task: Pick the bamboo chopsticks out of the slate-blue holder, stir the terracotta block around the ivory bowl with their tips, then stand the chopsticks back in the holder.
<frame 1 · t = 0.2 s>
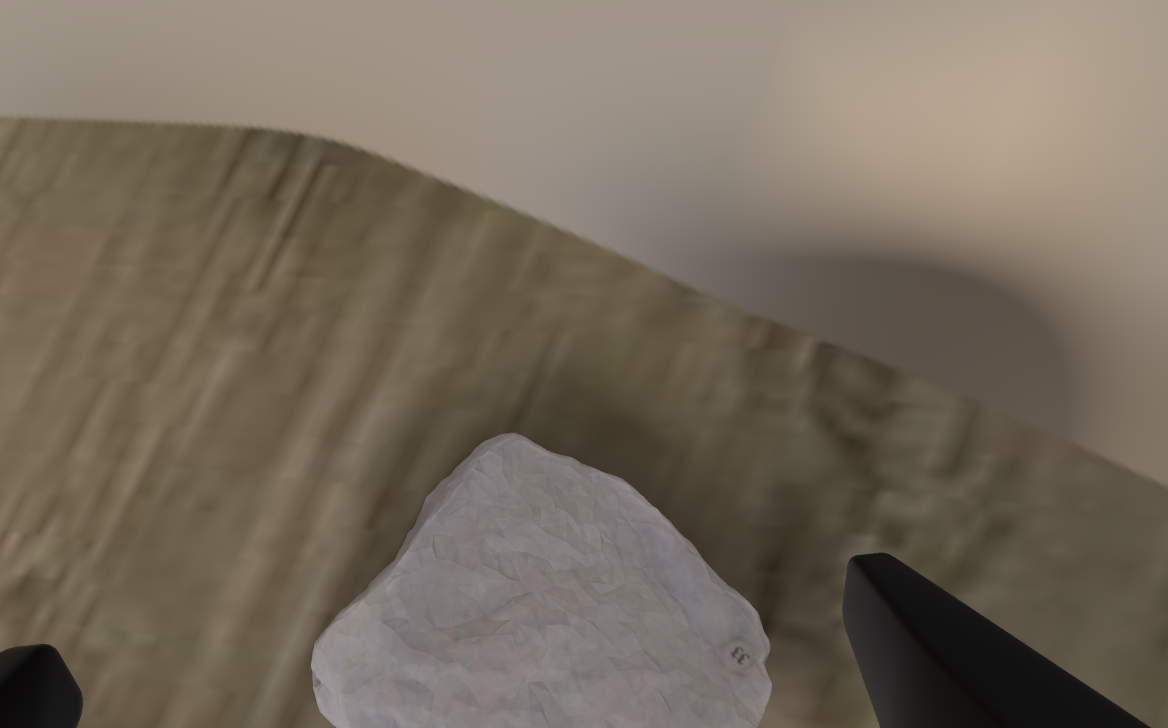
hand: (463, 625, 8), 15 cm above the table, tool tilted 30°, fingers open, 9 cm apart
stone block: (562, 624, 23), on the table
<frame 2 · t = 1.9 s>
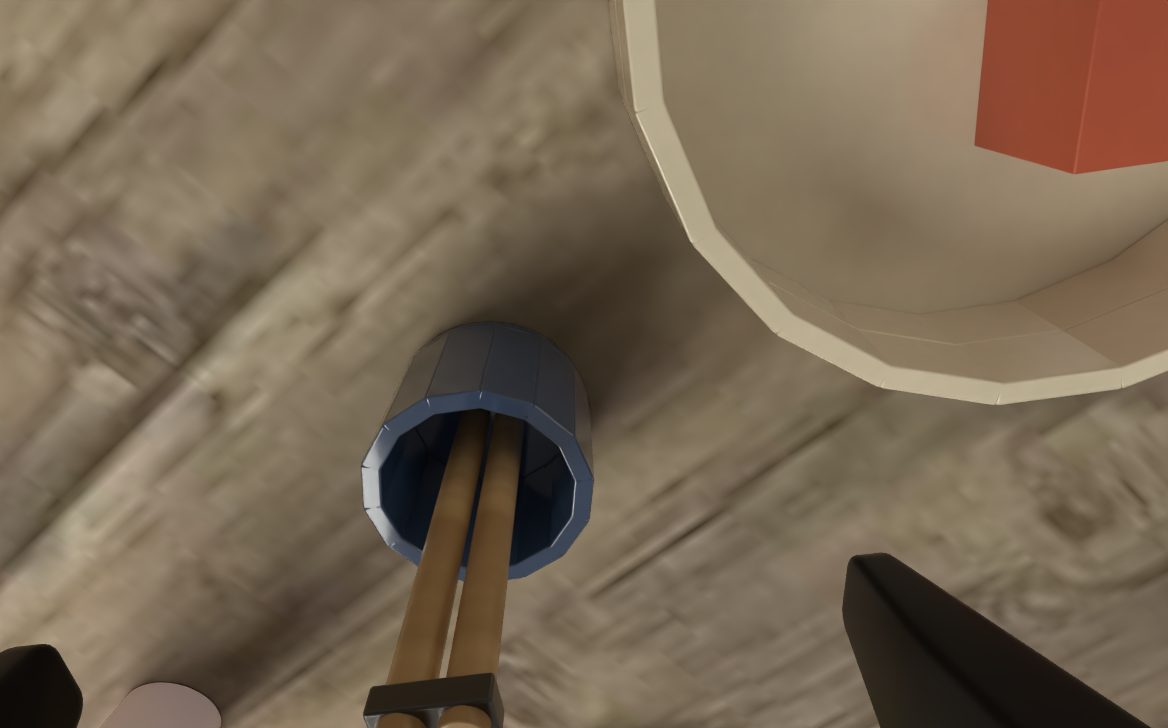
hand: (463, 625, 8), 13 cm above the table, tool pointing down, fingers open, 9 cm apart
block: (1063, 50, 17), point 1 cm above the table, touching bowl
chopsticks: (493, 414, 22), resting on holder
smoothie: (174, 711, 28), on the table
holder: (494, 407, 22), on the table
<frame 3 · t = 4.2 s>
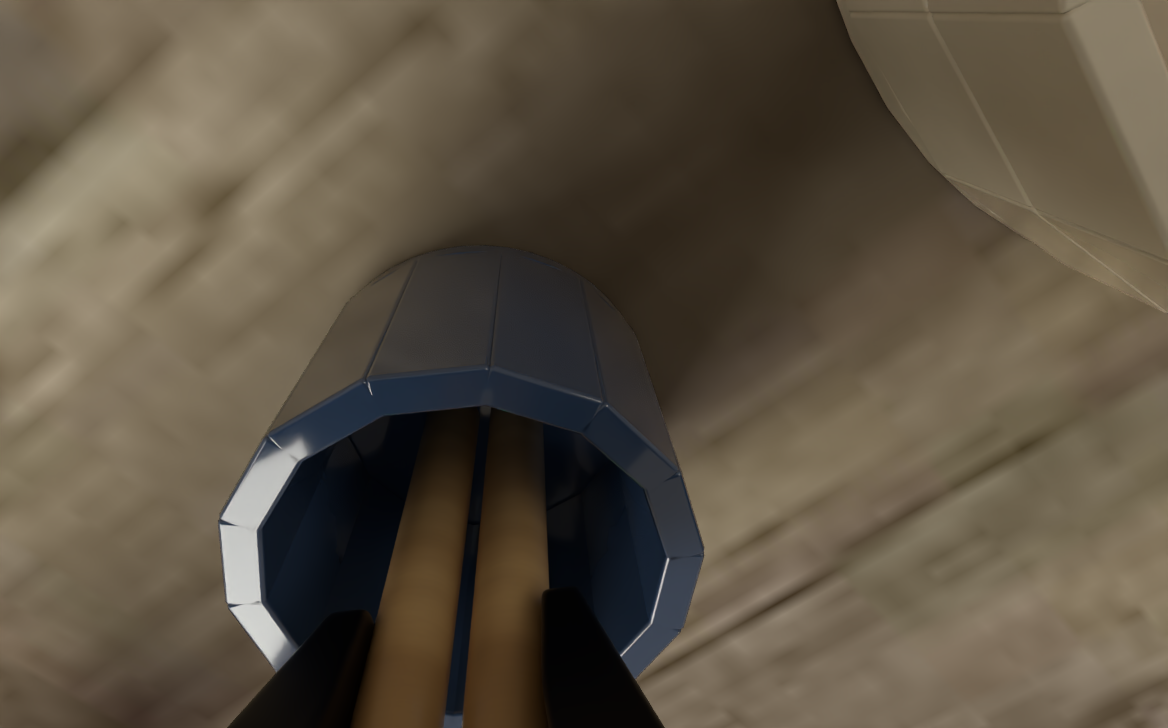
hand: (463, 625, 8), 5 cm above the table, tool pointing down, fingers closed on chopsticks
chopsticks: (485, 411, 12), resting on holder, touching gripper
holder: (486, 400, 13), on the table
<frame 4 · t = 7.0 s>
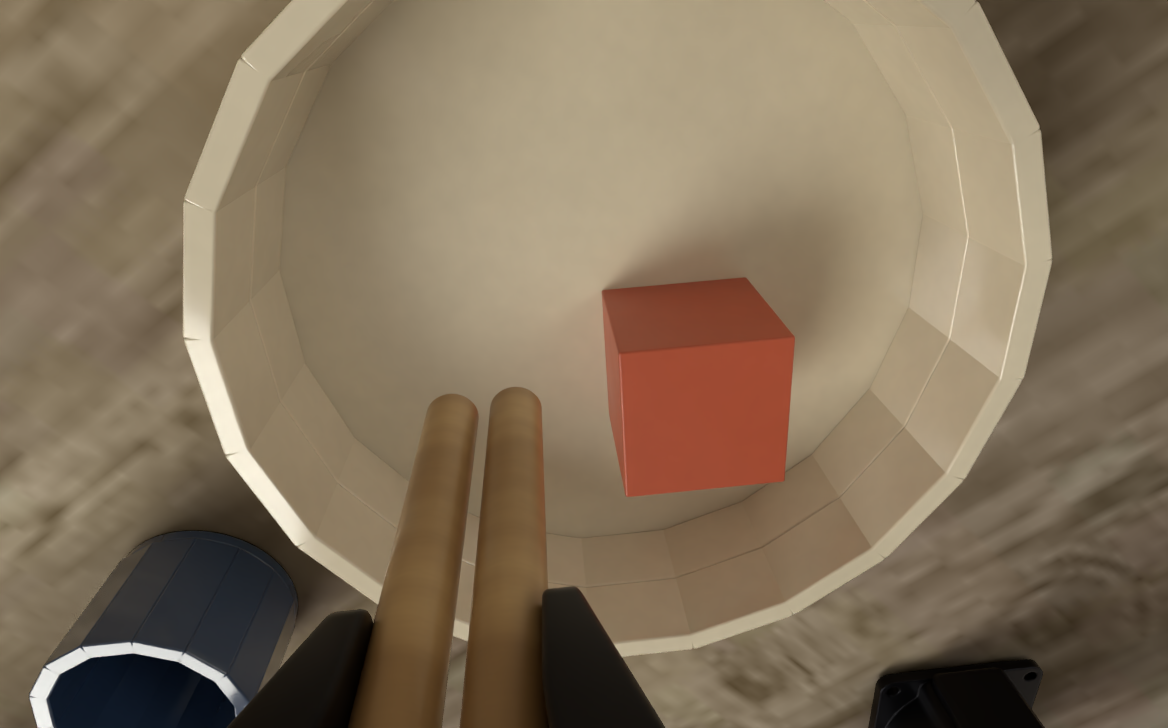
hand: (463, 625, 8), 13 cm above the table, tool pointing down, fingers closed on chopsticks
block: (674, 348, 20), point 1 cm above the table, touching bowl
chopsticks: (484, 411, 12), point 8 cm above the table, touching gripper
bowl: (606, 281, 20), on the table
holder: (209, 597, 24), on the table
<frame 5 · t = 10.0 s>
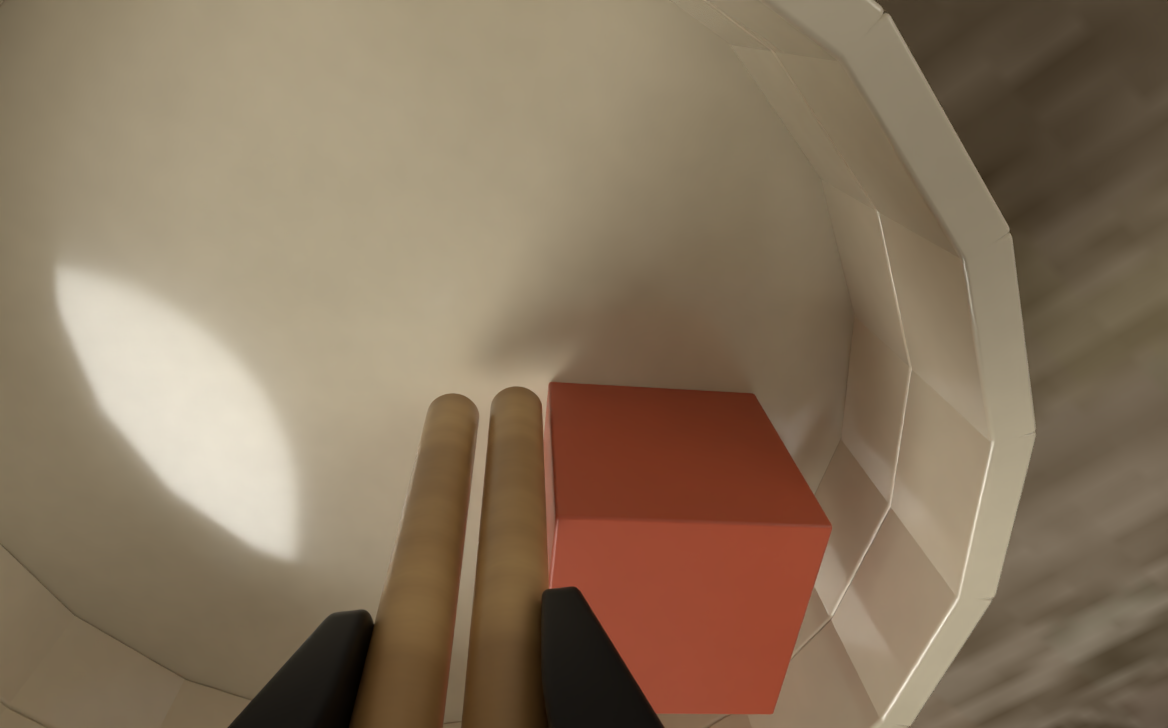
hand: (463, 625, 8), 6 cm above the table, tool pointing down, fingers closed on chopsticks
block: (639, 473, 14), point 1 cm above the table, touching bowl
chopsticks: (485, 410, 12), point 2 cm above the table, touching gripper
bowl: (410, 405, 14), on the table
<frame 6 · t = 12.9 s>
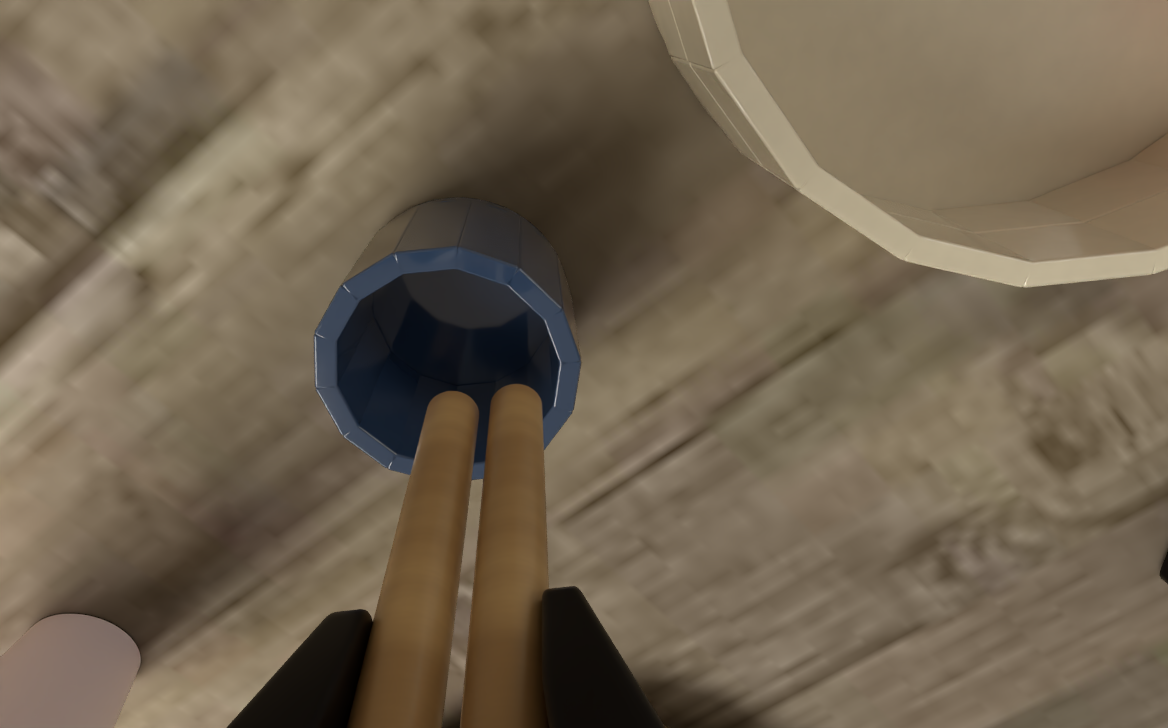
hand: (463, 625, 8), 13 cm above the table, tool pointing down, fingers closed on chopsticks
chopsticks: (484, 408, 12), point 8 cm above the table, touching gripper
smoothie: (86, 648, 25), on the table
holder: (464, 300, 20), on the table
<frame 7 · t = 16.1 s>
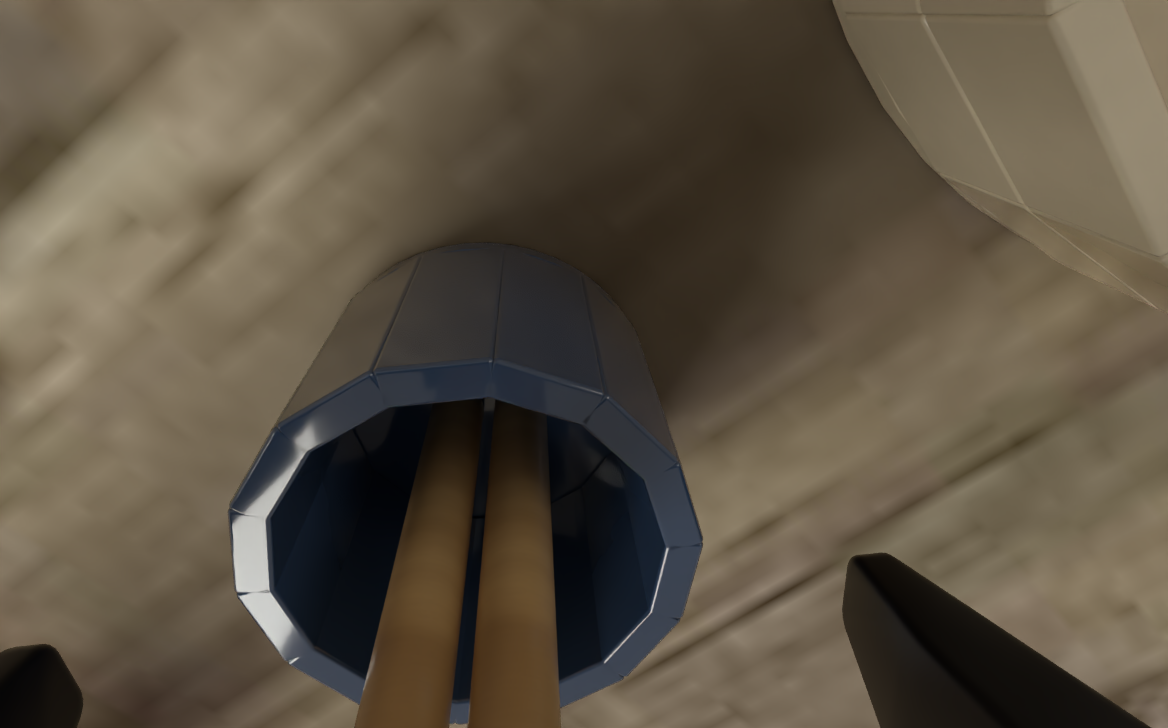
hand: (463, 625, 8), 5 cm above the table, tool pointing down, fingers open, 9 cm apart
chopsticks: (489, 403, 13), resting on holder
holder: (489, 395, 13), on the table
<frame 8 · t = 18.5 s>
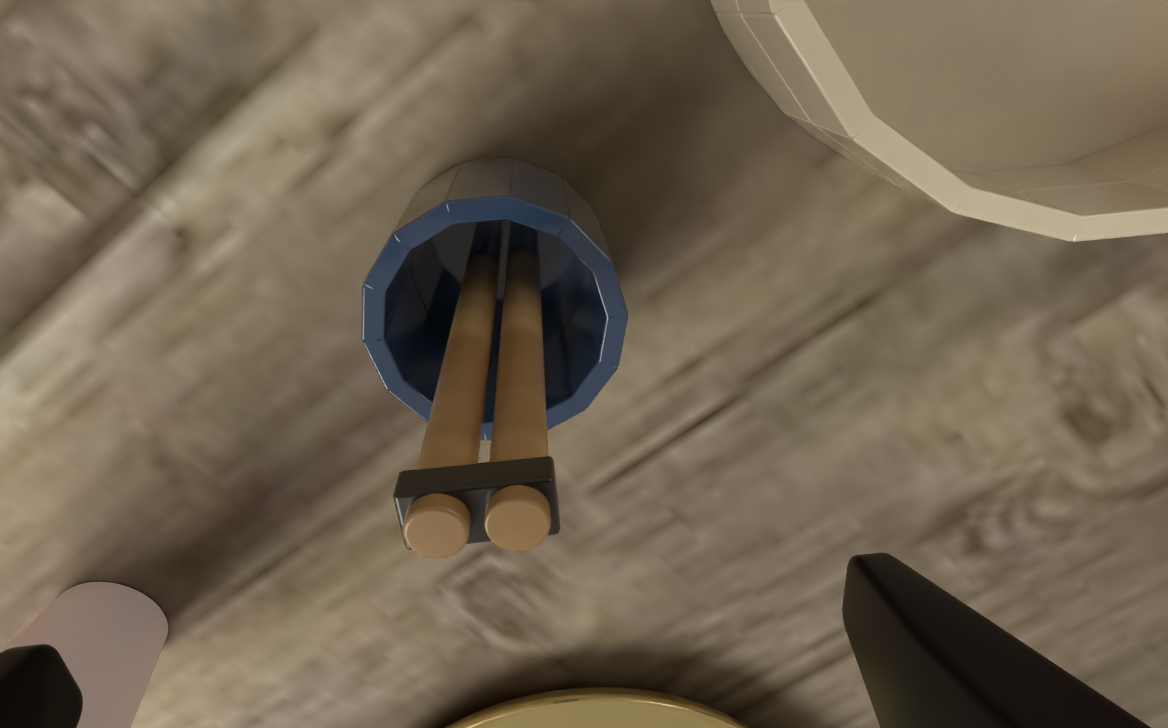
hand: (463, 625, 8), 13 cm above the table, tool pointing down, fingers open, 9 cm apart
chopsticks: (503, 266, 19), resting on holder
smoothie: (114, 617, 25), on the table
holder: (502, 263, 20), on the table
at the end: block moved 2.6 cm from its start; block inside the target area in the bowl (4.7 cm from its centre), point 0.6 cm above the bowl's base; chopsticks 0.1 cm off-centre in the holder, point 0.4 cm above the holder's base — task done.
